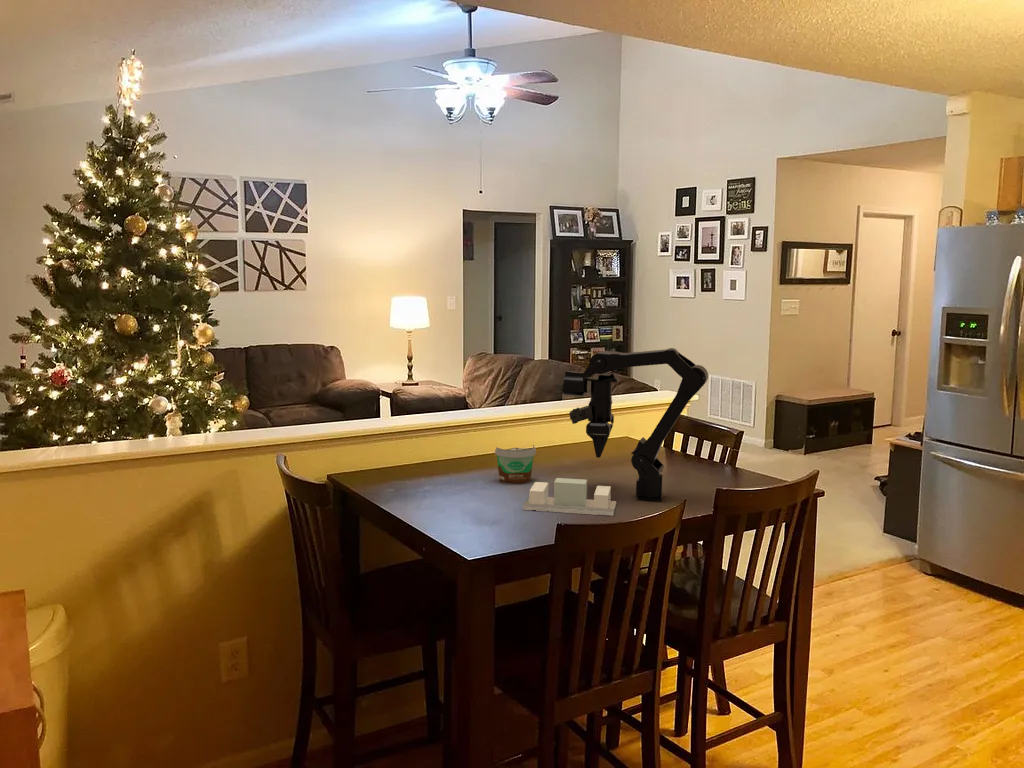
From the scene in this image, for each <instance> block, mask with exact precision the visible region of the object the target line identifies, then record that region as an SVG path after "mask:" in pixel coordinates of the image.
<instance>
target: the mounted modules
mask: <svg viewBox="0 0 1024 768" xmlns="http://www.w3.org/2000/svg"><path fill="white" fill-rule="evenodd" d="M611 490H612V489H611V486H610V485H609V486H608V485H597V486H596V489H595V491H594V494H593V500H594V508H604V509H608V508H609V504H610V501H611V496H612V495H611V494H612V493H611ZM548 497H549V482H543V481H542V482H541V481H535V482H534V483H533V485H532V486H531V488H530V489H529V496H528V498H529V504H542V505H543V504H545V502H546V500H547V498H548Z"/></svg>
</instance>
